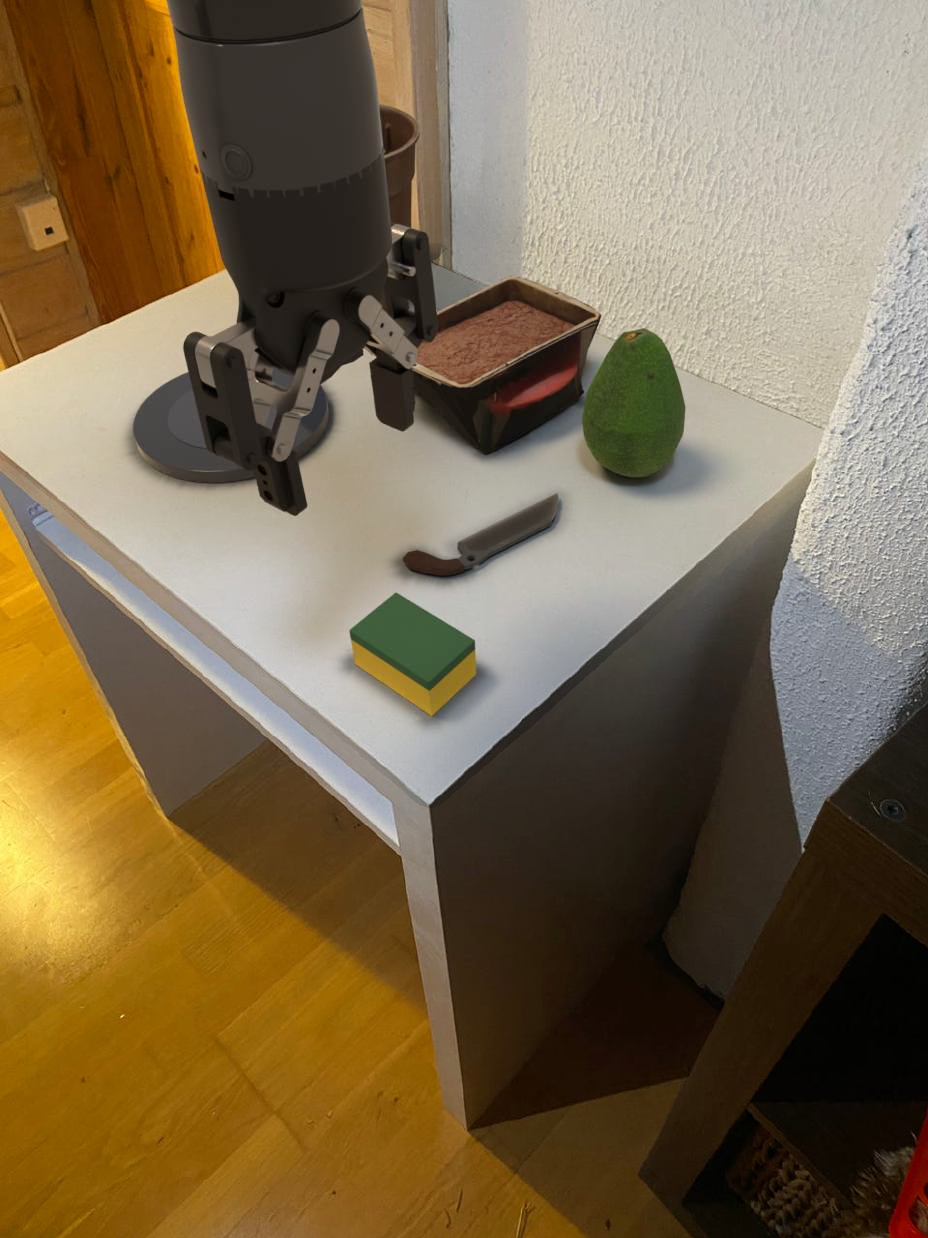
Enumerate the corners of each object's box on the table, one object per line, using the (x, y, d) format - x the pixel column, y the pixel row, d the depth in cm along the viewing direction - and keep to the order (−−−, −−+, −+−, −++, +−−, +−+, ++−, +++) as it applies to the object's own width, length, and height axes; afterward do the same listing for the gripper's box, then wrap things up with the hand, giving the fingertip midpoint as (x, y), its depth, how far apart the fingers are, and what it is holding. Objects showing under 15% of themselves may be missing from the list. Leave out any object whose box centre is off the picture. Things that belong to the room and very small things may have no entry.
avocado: (635, 428, 80) (652, 299, 71) (695, 476, 75) (720, 343, 66) (559, 459, 77) (566, 328, 68) (616, 510, 72) (631, 377, 64)
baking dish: (378, 411, 86) (356, 324, 78) (525, 322, 91) (519, 230, 83) (473, 496, 79) (460, 410, 71) (627, 394, 84) (631, 302, 76)
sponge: (431, 716, 59) (428, 682, 57) (354, 664, 63) (348, 630, 60) (476, 674, 62) (475, 639, 59) (400, 626, 65) (395, 591, 62)
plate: (220, 510, 74) (216, 497, 73) (97, 432, 82) (93, 420, 81) (368, 412, 83) (366, 400, 82) (244, 351, 90) (241, 339, 90)
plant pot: (288, 346, 91) (256, 177, 79) (265, 272, 102) (234, 114, 90) (447, 318, 94) (439, 151, 82) (409, 249, 104) (397, 92, 92)
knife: (429, 591, 67) (429, 584, 66) (400, 560, 69) (399, 554, 69) (578, 514, 72) (579, 508, 72) (547, 489, 74) (547, 482, 74)
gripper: (339, 76, 43) (377, 380, 55) (89, 186, 35) (196, 510, 47) (469, 105, 39) (479, 422, 51) (223, 232, 32) (302, 568, 44)
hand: (344, 464), depth 49 cm, fingers open, 8 cm apart
